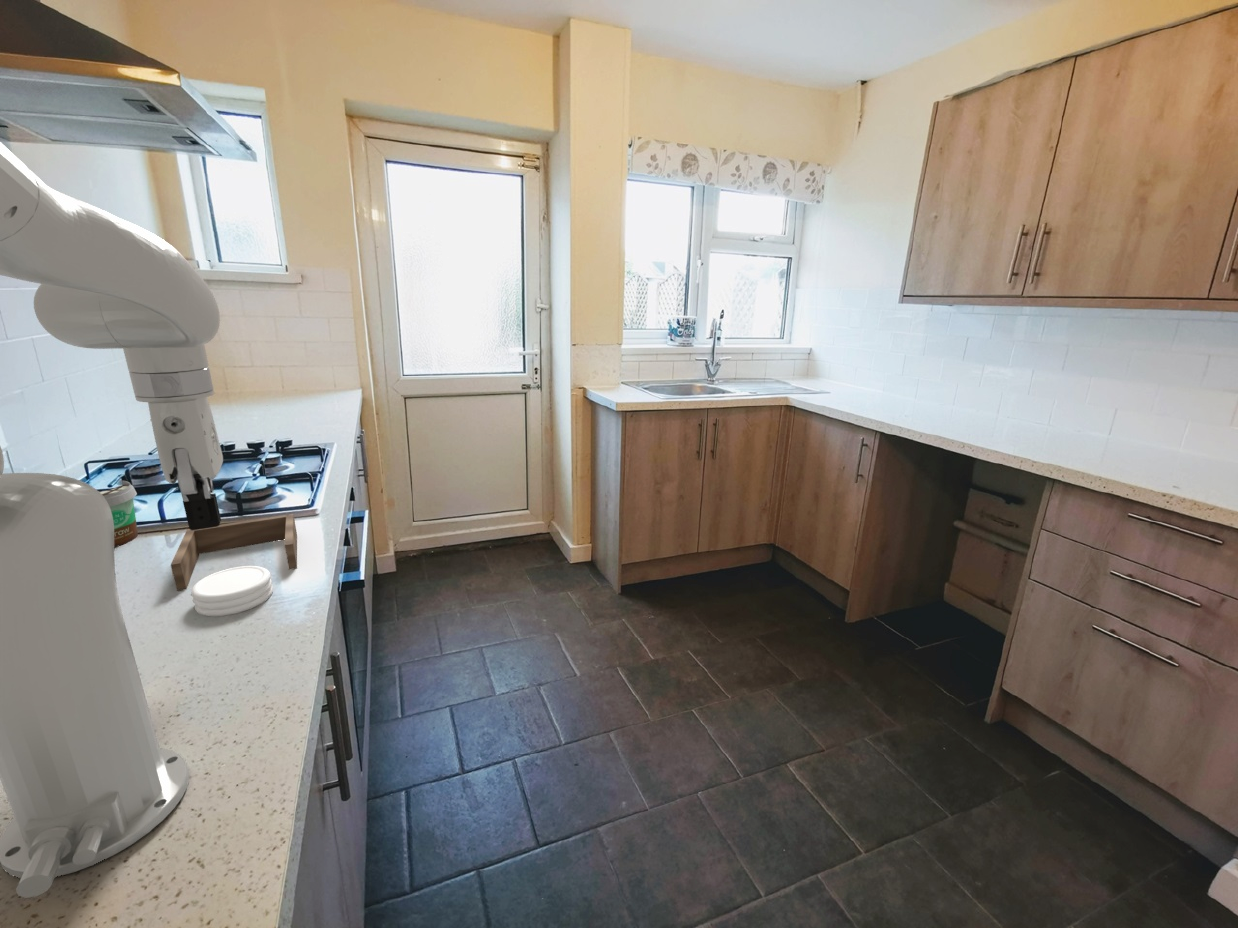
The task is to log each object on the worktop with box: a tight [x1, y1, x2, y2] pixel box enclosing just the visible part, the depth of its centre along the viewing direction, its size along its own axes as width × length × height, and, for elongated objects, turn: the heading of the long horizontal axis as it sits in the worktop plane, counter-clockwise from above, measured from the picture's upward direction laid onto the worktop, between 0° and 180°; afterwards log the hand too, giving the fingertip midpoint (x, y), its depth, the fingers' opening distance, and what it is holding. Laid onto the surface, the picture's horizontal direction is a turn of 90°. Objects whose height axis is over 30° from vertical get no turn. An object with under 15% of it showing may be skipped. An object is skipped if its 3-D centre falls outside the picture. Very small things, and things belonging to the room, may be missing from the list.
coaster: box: [191, 565, 274, 617], centre depth 85 cm, size 10×10×4 cm
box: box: [170, 513, 298, 592], centre depth 97 cm, size 15×16×4 cm
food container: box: [98, 480, 139, 548], centre depth 103 cm, size 12×6×10 cm, turn 168°
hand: (205, 525), depth 72 cm, fingers closed
